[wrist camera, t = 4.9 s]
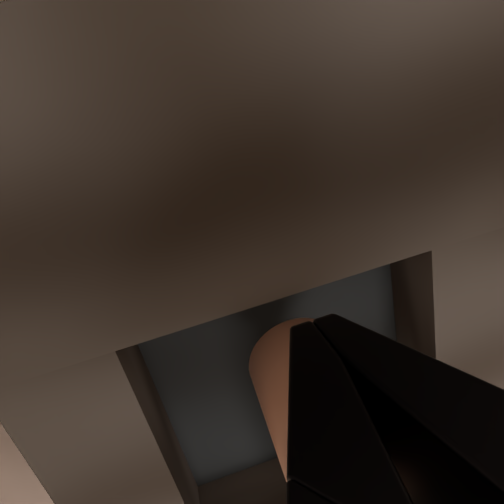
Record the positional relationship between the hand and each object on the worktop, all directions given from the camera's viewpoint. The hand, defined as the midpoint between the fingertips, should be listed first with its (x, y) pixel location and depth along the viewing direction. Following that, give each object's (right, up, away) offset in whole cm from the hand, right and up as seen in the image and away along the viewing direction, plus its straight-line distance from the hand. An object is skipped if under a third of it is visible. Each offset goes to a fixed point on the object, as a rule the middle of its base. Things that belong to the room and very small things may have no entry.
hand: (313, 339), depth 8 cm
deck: (+2, -9, +10) cm, 14 cm away
